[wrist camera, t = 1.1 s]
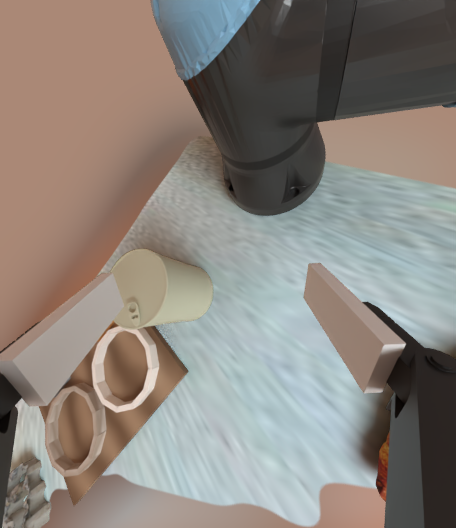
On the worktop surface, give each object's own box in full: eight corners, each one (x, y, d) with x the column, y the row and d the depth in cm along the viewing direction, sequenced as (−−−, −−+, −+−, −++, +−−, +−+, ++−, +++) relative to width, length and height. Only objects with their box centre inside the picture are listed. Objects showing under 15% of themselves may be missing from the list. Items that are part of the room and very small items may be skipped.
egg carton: (55, 518, 33) (23, 546, 29) (29, 537, 34) (-5, 566, 30) (42, 450, 36) (12, 467, 33) (19, 469, 38) (-12, 487, 34)
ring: (117, 290, 36) (110, 290, 35) (172, 366, 29) (165, 369, 28) (79, 339, 37) (71, 341, 36) (123, 425, 30) (115, 430, 29)
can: (169, 326, 32) (101, 338, 21) (162, 274, 34) (98, 260, 23) (218, 314, 29) (170, 320, 18) (207, 259, 32) (159, 235, 21)
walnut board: (122, 283, 37) (111, 282, 35) (188, 371, 29) (179, 377, 27) (40, 390, 39) (24, 395, 37) (80, 500, 31) (63, 515, 29)
